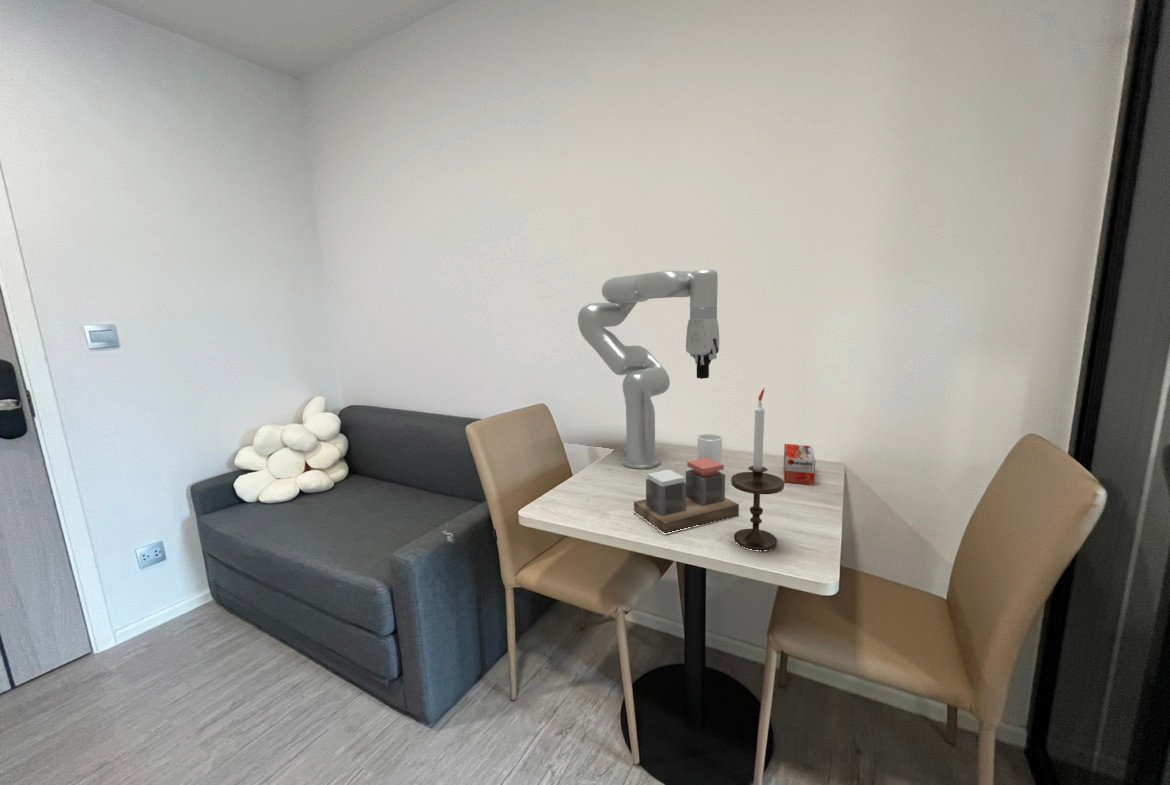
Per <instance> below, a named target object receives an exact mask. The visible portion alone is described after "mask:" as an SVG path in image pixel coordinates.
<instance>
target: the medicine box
mask: <svg viewBox="0 0 1170 785" xmlns="http://www.w3.org/2000/svg"><path fill="white" fill-rule="evenodd" d="M783 448H784V449H783V478H784V479H783V481H784V484H801V485H805V486H814V485H815V474H816V473H815V472H816V461H817V460H816V457H815V456H816V455H815V452H814V449H813V446H812V445H805V444H803V445H802V444H791V443H784V447H783Z"/></svg>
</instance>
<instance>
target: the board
mask: <svg viewBox="0 0 1170 785" xmlns="http://www.w3.org/2000/svg"><path fill="white" fill-rule="evenodd" d="M725 496H726V474H724V473H723V472H722V471H721V472H720V471H718V474H717V475H713V476H708V477H702V476H699V475H697V474H695V473H693V469H689V470H685V481H684V482H682V483H678V484H673V485H669V486H664V487H661V486H660V485H658V484H656V483H654V482H653V481H651V480H649V479H648V478H646V479H645V499H641V500H637V501H636V500H635V501H633V512H634V511H635V512H636V513H637V514H639V515H640V516H642V517H643V518H644V519H646V520H647V521H648V522H650V523H651V524H652V525H654V526H655V527H657V528H658V529H659V530H661V531H662V532H664V533H668V532H672V531H676V530H680V529H684V528H688V527H693V526H696V525H702V524H705V525H707V524H706V523H709V524H711V523H710V522H713V523H715V522H714V521H717V522H720V521H719V520H721V521H723V520H722V519H724V520H727V518H728V519H731V518H732V519H733V518H735V517H738V516H740V515H739V514H740V509H739V508H740V504H739V503H737V502H735V501H733V500H731V499H729V498H727V497H725ZM702 526H703V525H702Z"/></svg>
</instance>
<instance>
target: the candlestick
mask: <svg viewBox="0 0 1170 785" xmlns="http://www.w3.org/2000/svg"><path fill="white" fill-rule="evenodd" d="M764 393H765V387H763V388H762V390H761V392H760V393H759V396H758V403H757V407H755V408H754V429H753V430H754V431H753V432H754V435H753V465H752V466H748V467H747V469H748V470H749V471H743V472H738V473H735V474H733V475H732V476H731V480H730V483H731V486H732V487H733V488H734V489H736V490H739V491H741V492H744V493H748V494H753V504H752V506H751V507H750V508H749V512H750V514H751V515H752V517H750V519H749V521H750V522H751V523H752V528H743V529H740V530H737V531H736V532H735V533H734V534H733V539H734V540H735V541H734V543H735V542H737V543H738V544H739V545H740V546H743V547H745V548H748V549H752V550H759V551H760V550H761V551H764V550H770V549H773V548H775V547H776V546H778V538H777V537H776V536H775V535H774V534H772V533H771V532H768V531H766V530H763V529H760V524H762V522H763V520H762V519H761V516H762V514H764V509H763V508H762V507H761V504H760V503H761V495H774V494H778V493H782V491H784V489H785V482H784V479H782V478H781V477H779V476H778V475H775V474H770V473H768V468H767V467H765V466H763V461H764V460H763V459H764V455H763V454H764V429H765V408H764V407H763V404H762V400H763V397H764ZM766 472H767V473H766ZM740 546H739V547H740ZM776 548H777V547H776ZM776 548H775V549H776ZM773 550H774V549H773Z"/></svg>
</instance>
